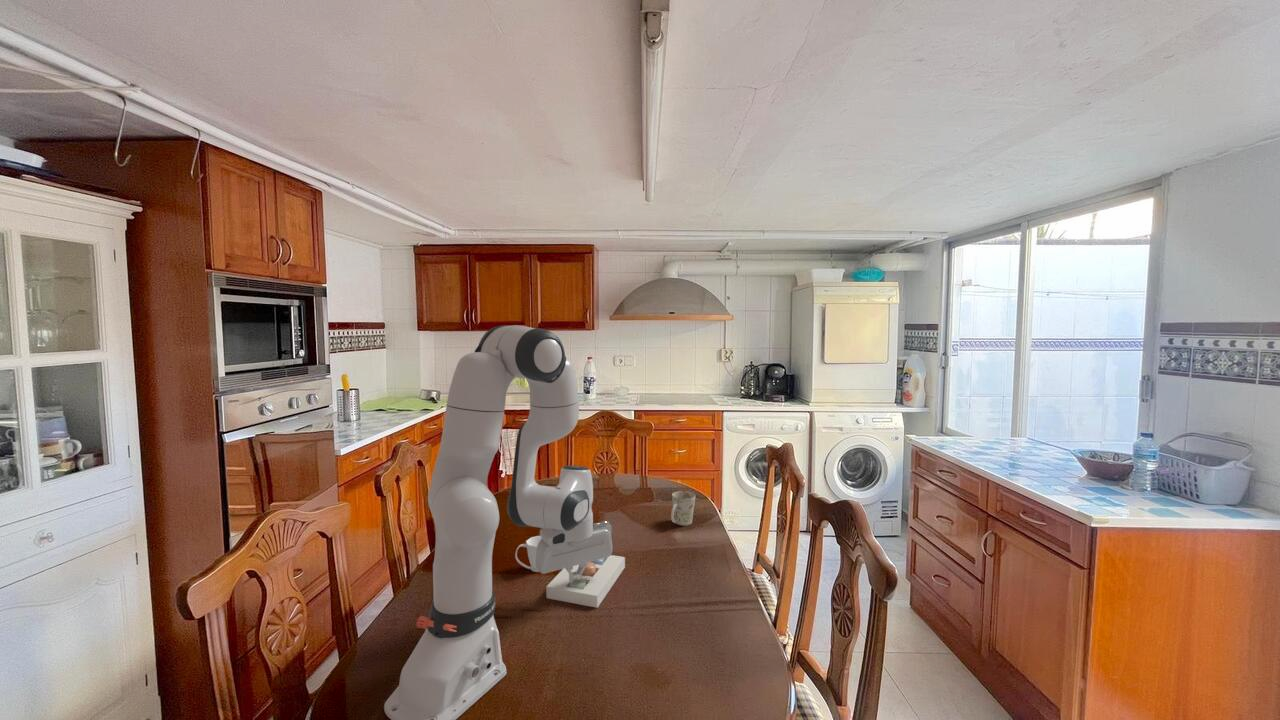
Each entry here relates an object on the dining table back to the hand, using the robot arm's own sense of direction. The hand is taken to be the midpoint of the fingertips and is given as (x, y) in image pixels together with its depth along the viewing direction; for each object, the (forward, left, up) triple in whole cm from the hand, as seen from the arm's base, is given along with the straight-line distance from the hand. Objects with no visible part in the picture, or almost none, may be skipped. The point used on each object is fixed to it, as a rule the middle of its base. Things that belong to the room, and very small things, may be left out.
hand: (575, 580), depth 120 cm
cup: (+9, +17, -4) cm, 20 cm away
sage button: (0, -1, -3) cm, 4 cm away
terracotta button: (+7, -1, -2) cm, 7 cm away
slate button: (+13, -1, -4) cm, 14 cm away
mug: (+52, -17, -4) cm, 54 cm away
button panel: (+7, -1, -4) cm, 8 cm away
